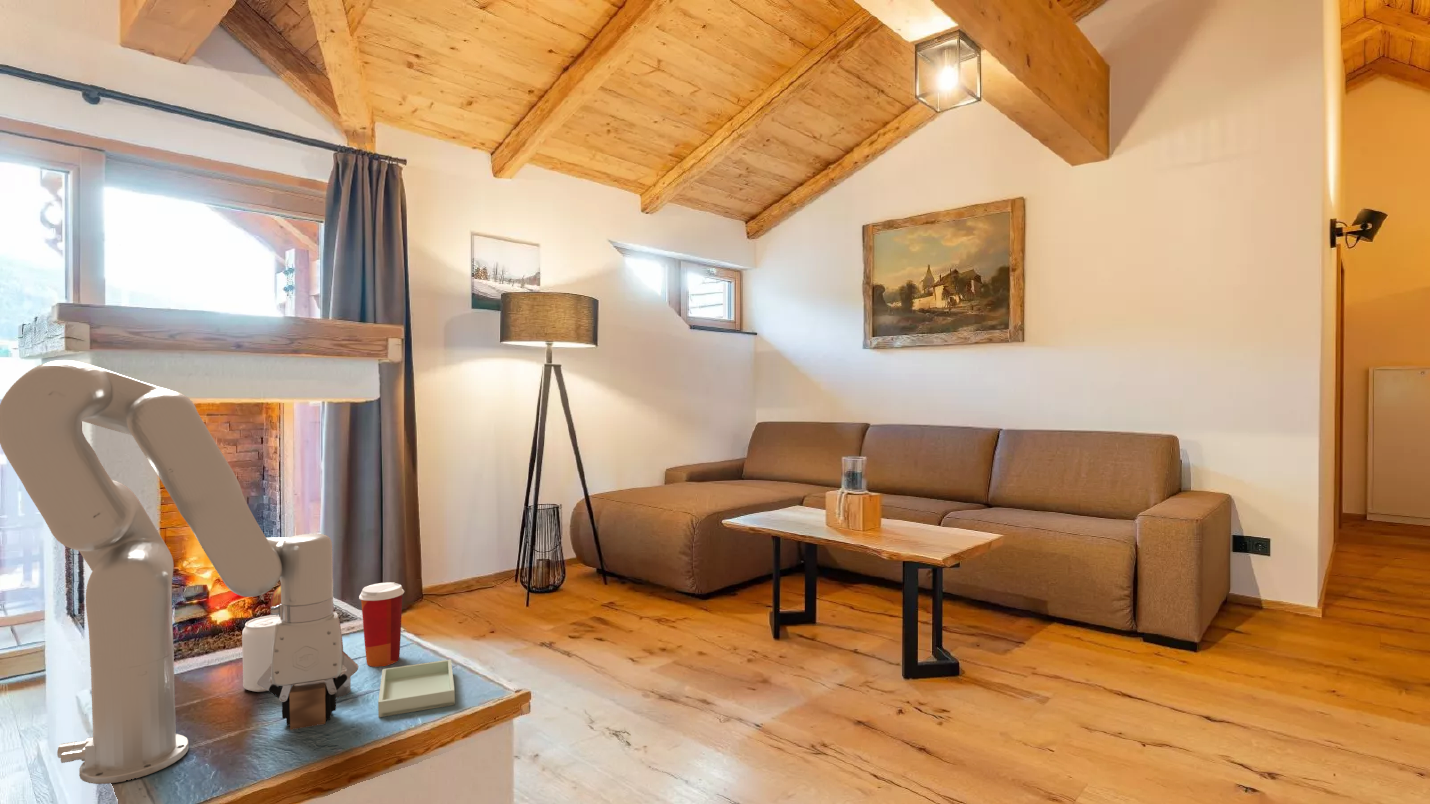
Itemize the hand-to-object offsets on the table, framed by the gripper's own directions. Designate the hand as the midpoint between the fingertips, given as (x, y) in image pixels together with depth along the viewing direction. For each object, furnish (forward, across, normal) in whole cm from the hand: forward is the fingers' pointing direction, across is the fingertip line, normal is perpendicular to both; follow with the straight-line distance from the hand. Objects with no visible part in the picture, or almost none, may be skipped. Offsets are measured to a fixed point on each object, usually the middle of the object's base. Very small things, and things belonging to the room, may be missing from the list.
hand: (309, 717), depth 119 cm
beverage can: (+1, -9, +19) cm, 21 cm away
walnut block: (+1, 0, 0) cm, 1 cm away
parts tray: (0, +16, +4) cm, 17 cm away
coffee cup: (+1, +10, +23) cm, 25 cm away
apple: (+1, -10, +55) cm, 56 cm away
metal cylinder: (+1, +3, +10) cm, 10 cm away
